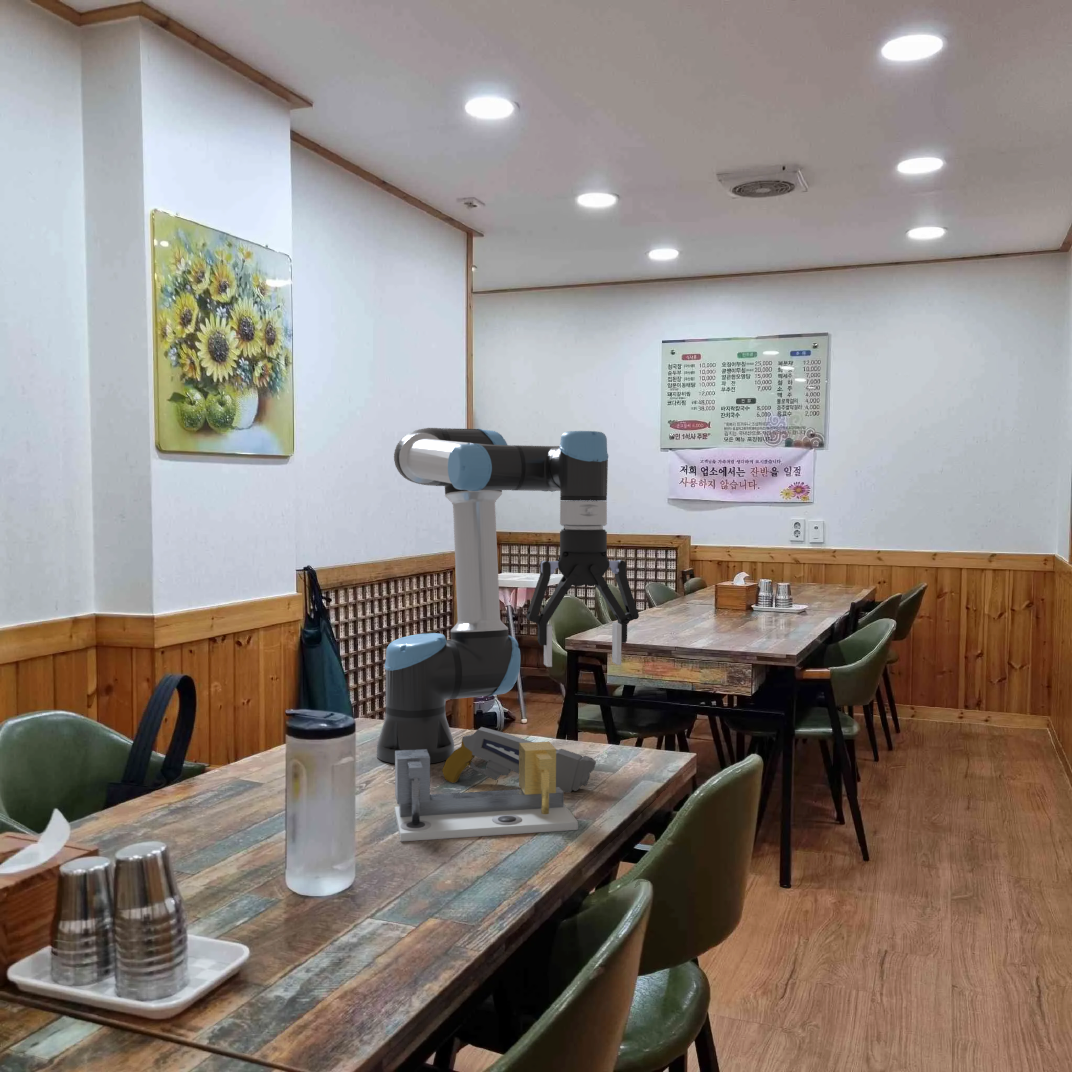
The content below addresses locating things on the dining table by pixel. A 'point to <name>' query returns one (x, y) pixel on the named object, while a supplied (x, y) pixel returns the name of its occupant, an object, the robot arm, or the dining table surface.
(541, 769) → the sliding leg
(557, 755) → the gun
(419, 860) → the dining table surface
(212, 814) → the dining table surface
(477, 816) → the bolt plate
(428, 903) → the dining table surface
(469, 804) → the grey sliding rail fixture
